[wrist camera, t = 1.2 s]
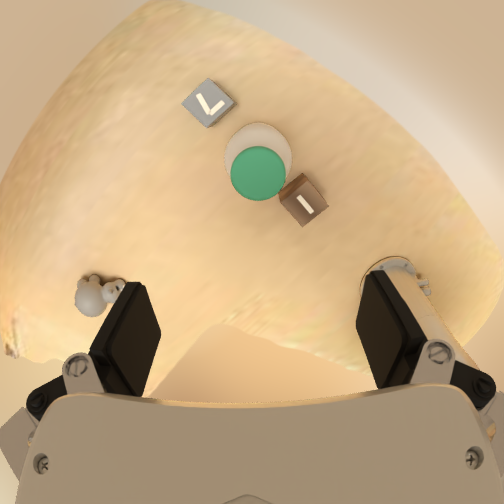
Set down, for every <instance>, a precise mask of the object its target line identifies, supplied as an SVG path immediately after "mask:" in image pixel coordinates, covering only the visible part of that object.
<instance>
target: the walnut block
mask: <svg viewBox="0 0 504 504" xmlns="http://www.w3.org/2000/svg"><path fill="white" fill-rule="evenodd" d="M278 194H279V198H280V202H281V204H282V205H283V206H284V207H285V208H286V209H287V210H288V211H289V212H290V214H291V215H292V216H293V217H294V218H295V219H296V220H297V221H298V223H299V224H300V225H301V226H302V227H303V226H304V225H306V224H307V223H308V222H310V221H311V220H312V219H313V218H315V217H316V216H317V215H319V214H320V213H321V212H322V211H324V210H325V209H326V208H327V207H329V205H328V204H327V203H326V201H325V200H324V198H323V197H322V196H321V195H320V193H319V192H318V191H317V190H316V188H315V187H314V186H313V185H312V184H311V182H310V181H309V180H308V179H307V178H306V176H305V175H304V174H303V173H302V174H301V175H299V176H298V177H297V178H296V179H294V180H293V181H292V182H291V183H290V184H288V185H287V186H286V187H285V188H283V189H282V190H281V191H280V192H279V193H278Z"/></svg>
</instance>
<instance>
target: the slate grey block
mask: <svg viewBox="0 0 504 504" xmlns="http://www.w3.org/2000/svg"><path fill="white" fill-rule="evenodd" d="M181 104H182V105H183V106H184V107H185V108H186V109H187V110H188V111H189V112H190V113H191V114H192V115H193V116H194V117H196V118H197V119H198V120H199V121H200V122H201V123H202V124H203V125H204V126H205V127H206V128H208V127H212V126H213V125H214V124H215V123H216V122H217V121H218V120H220V119H221V118H222V117H223V116H224V115H225V114H226V113H227V112H228V111H229V110H231V109H232V108H233V107H234V106H235V105H236V103H235V102H234V101H233V100H232V99H231V98H230V97H229V96H228V95H227V94H226V93H225V92H224V91H223V90H222V89H221V88H220V87H219V86H218V85H217V84H216V83H214V82H213V81H212V80H210V79H209V78H207V79H206V80H205V81H204V82H203V83H202V84H201V85H200V86H199V87H198V88H197V89H196V90H194V91H193V92H192V93H191V94H190V95H189V96H188V97H187V98H186V99H185V100H184V101H183V102H182V103H181Z"/></svg>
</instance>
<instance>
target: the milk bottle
mask: <svg viewBox="0 0 504 504" xmlns="http://www.w3.org/2000/svg"><path fill="white" fill-rule="evenodd" d="M224 163H225V168H226V171H227V173H228V175H229V177H230V178H231V181H232V184H233V186H234V188H235V189H236V191H237V192H238V193H239V194H241V195H242V196H243V197H245V198H247V199H250V200H255V201H261V200H266V199H269V198H271V197H273V196H275V195H276V194H277V193H278V192H279V191H280V190H281V188H282V187H283V185H284V183H285V179H286V177H287V176H288V174H289V172H290V169H291V165H292V153H291V149H290V146H289V144H288V142H287V140H286V139H285V137H284V136H283V135H282V134H281V133H280V132H279V131H278V130H276V129H275V128H274V127H272V126H270V125H268V124H265V123H251V124H248V125H246V126H244V127H242V128H241V129H240V130H239V131H237V132H236V133H235V134H234V135H233V136H232V138H231V139H230V141H229V142H228V144H227V147H226V149H225V154H224Z"/></svg>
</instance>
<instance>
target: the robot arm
mask: <svg viewBox="0 0 504 504" xmlns="http://www.w3.org/2000/svg"><path fill="white" fill-rule="evenodd" d="M428 284H429V280H428V279H427V278H426V279H422V280H419V279H418V278H417V277H416V271H415V268H414V267H413V265H412V264H411V263H410V262H409V261H408V260H407V259H405V258H402V257H389V258H386V259H383V260H381V261H379V262H378V263H376V264H375V265H374V266H373V267H371V268H370V269H369V271H368V272H367V273H366V274H365V276H364V278H363V280H362V282H361V286H360V295H361V301H360V306H359V310H358V315H357V319H356V329H357V332H358V335H359V337H360V340H361V343H362V345H363V348H364V351H365V354H366V356H367V359H368V362H369V365H370V368H371V371H372V374H373V377H374V380H375V383H376V385H377V388H378V390H372V391H366V392H360V393H354V394H348V395H341V396H334V397H326V398H318V399H309V400H298V401H284V402H268V403H267V402H266V403H204V402H184V401H171V400H161V399H152V398H143V397H142V395H143V392H144V388H145V385H146V382H147V379H148V375H149V372H150V369H151V366H152V362H153V359H154V356H155V353H156V350H157V347H158V344H159V341H160V338H161V330H160V327H159V324H158V322H157V319H156V316H155V313H154V311H153V308H152V305H151V302H150V299H149V296H148V293H147V290H146V287H145V286H144V285H142V284H141V283H140V282H127V283H126V285H125V286H124V288H123V290H122V291H121V293H120V295H119V296H118V298H117V300H116V301H115V303H114V305H113V307H112V308H111V310H110V312H109V314H108V315H107V317H106V319H105V321H104V323H103V324H102V326H101V328H100V330H99V332H98V334H97V335H96V337H95V339H94V341H93V343H92V345H91V347H90V351H89V353H88V354H86V353H76V354H73V355H72V356H70V357H69V358H68V359H67V360H66V361H65V362H64V364H63V367H62V374H63V375H61V376H59V377H57V378H55V379H53V380H52V381H50V382H48V383H46V384H44V385H42V386H41V387H39V388H37V389H35V390H33V391H32V392H31V393H30V394H29V396H28V398H27V402H26V408H24V407H22V408H21V409H20V410H19V411H18V412H17V413H16V414H14V415H13V416H12V417H11V418H10V419H9V420H8V421H7V422H6V423H5V424H4V425H3V426H2V427H1V428H0V448H1V450H2V452H3V454H4V456H5V458H6V459H7V461H8V463H9V465H10V467H11V468H12V470H13V472H14V474H15V475H16V477H17V478H18V480H19V486H18V491H17V496H16V502H15V504H504V393H502V392H501V391H499V392H498V393H497V392H496V385H495V382H494V380H493V379H492V378H491V376H489V375H488V374H486V373H484V372H482V371H480V369H479V368H478V367H477V365H476V363H475V362H474V361H473V360H472V359H471V357H470V356H469V355H468V354H467V353H466V352H465V350H464V349H463V348H462V347H461V346H460V344H459V343H458V342H457V341H456V339H455V338H454V336H453V335H452V333H451V332H450V331H449V329H448V328H447V326H446V325H445V323H444V322H443V320H442V319H441V317H440V316H439V314H438V313H437V311H436V310H435V308H434V307H433V305H432V304H431V303H430V301H429V300H428V298H427V297H426V296H429V295H430V294H431V289H430V287H422V288H420V286H425V285H428Z"/></svg>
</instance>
